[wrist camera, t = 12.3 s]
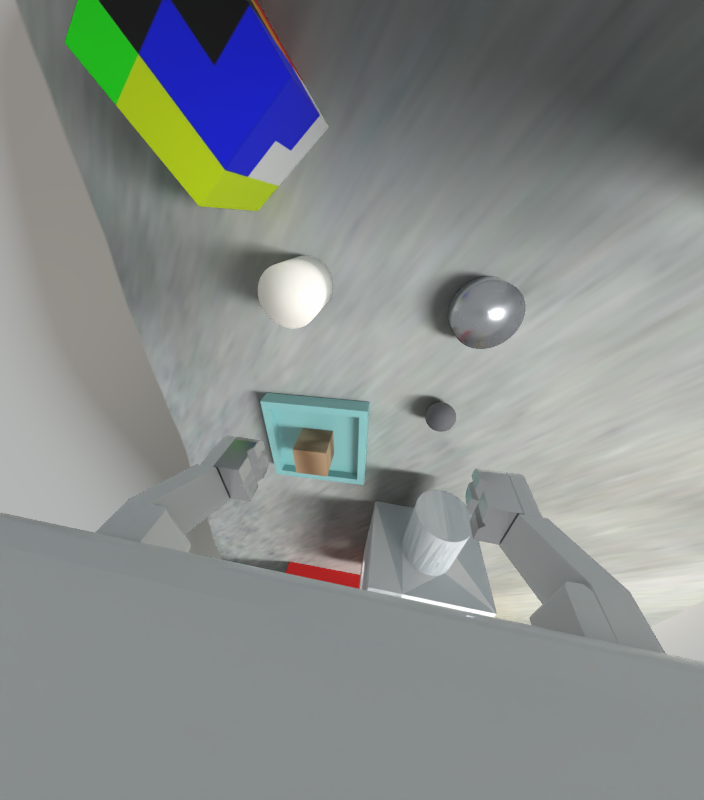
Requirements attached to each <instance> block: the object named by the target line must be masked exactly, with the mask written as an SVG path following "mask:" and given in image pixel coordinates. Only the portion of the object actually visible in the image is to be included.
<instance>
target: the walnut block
mask: <svg viewBox="0 0 704 800" xmlns="http://www.w3.org/2000/svg"><path fill="white" fill-rule="evenodd" d="M333 455H334V439H333V431H330V430H320V429H311V428H302V430H301V433H300V435H299V437H298V439H297V441H296V443H295V445H294V447H293V456H294V462H295V468H296V473H303V474H311V475H319V476H327V477H328V473H329V469H330V466H331V462H332V459H333Z"/></svg>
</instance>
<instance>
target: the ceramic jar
mask: <svg viewBox="0 0 704 800" xmlns="http://www.w3.org/2000/svg"><path fill="white" fill-rule="evenodd" d="M332 293H333V279H332V276H331V273H330V271H329V269H328V268H327V266H326V265H325V264H324V263H323V262H322V261H321V260H319V259H318V258H316V257H313V256H309V255H302V256H298V257H295V258H292V259H289V260H286V261H283V262H280V263H277V264H274V265H272V266H270V267H268V268H267V269H266V270H265V271H264V272H263V274H262V275H261V277H260V280H259V283H258V297H259V301H260V304H261V306H262V308H263V310H264V312H265V313H266V314H267V316H268V317H269V318H270V319H271V320H272V321H274V322H275V323H276V324H278V325H280V326H283V327H286V328H291V329H295V328H300V327H303V326H305V325H307V324H308V323H309V322H310V321H311V320H312V319H313V318H314V317H315V316H316V315H317V314H318V313H319V312H320V310H321V309H322V308H323V307H324V306H325V305H326V304H327V303H328V301H329V300H330V298H331V296H332Z"/></svg>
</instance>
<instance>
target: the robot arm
mask: <svg viewBox="0 0 704 800" xmlns="http://www.w3.org/2000/svg"><path fill="white" fill-rule="evenodd" d="M264 449H265V445H264V442H263V441H260V440H254V439H248V438H242V437H234V436H226V437H224V438H223V439H222V440H221V441H220V442H219V443H218V445H217V446H216V447H215V448H214V449H213V450H212V451H211V453H210V454H209V455H208V456H207V457H206V458H205V460H204V461H203V462H202V463H201V464H200V465H198V464H196V465H194V466H192V467H190V468H189V469H186V470H185V471H183V472H181V473H179V474H177V475H175V476H173V477H171V478H169V479H167V480H165V481H163V482H161V483H159V484H157V485H155V486H153V487H151V488H149V489H147V490H146V491H143V492H142V493H140V494H138V495H136V496H134V497H132V498H130V499H129V500H128V501H127V502H125V504H124V505H123V506H122V507H120V509H119V510H118V511H116V512H115V513H114V514H113V515H112V516H111V517H110V518H109V519H108V520H107V521H106V522H105V523H104V524H103V525H102V526H101V527H100V529H98V530H97V531H96V532H95V533H94V532H89V531H85V530H80V529H75V528H70V527H66V526H61V525H56V524H51V523H47V522H42V521H37V520H33V519H28V518H23V517H19V516H14V515H10V514H4V513H0V800H704V662H701V661H697V660H692V659H687V658H682V657H678V656H673V655H668V654H666V653H665V652H664V650H663V648H662V647H661V645H660V643H659V641H658V640H657V638H656V636H655V635H654V633H653V631H652V630H651V628H650V626H649V624H648V622H647V621H646V619H645V617H644V616H643V614H642V612H641V610H640V609H639V607H638V605H637V604H636V602H635V600H634V598H633V597H632V595H631V593H630V592H629V591H628V590H627V589H626V588H625V587H624V586H623V585H622V584H620V583H619V582H618V581H617V580H616V579H615V578H614V577H613V576H611V575H610V574H609V573H608V572H607V571H606V570H605V569H604V568H603V567H601V566H600V565H599V564H598V563H597V562H596V561H595V560H594V559H592V558H591V557H590V556H589V555H588V554H587V553H586V552H585V551H584V550H582V549H581V548H580V547H579V546H578V545H577V544H576V543H575V542H573V541H572V540H571V539H570V538H569V537H568V536H567V535H566V534H565V533H563V532H562V531H561V530H560V529H559V528H558V527H557V526H556V525H554V524H553V523H552V522H551V521H550V520H549V519H548V518H543V517H542V515H541V513H540V511H539V508H538V506H537V504H536V502H535V499H534V497H533V495H532V493H531V490H530V488H529V486H528V484H527V481H526V479H525V477H524V476H523V475H521V474H513V473H505V472H497V471H489V470H481V469H475V470H474V472H473V474H472V479H473V482H471V483H469V484H468V487H467V491H466V504H467V510H468V511H469V512H470V513H471V514H472V517H471V519H470V526H471V531H472V536H473V540H478V541H483V542H488V543H493V544H498V545H500V548H501V549H502V550H503V552H504V553H505V554H506V556H507V557H508V558H509V560H510V561H511V562H512V564H513V565H514V566H515V568H516V569H517V570H518V572H519V573H520V574H521V576H522V577H523V579H524V580H525V581H526V583H527V584H528V585H529V587H530V588H531V589H532V591H533V592H534V593H535V595H536V596H537V597H538V599H539V600H540V601H541V603H542V604H543V605H542V606H541V607H540V608H538V609H537V610H536V611H535V612H534V613H533V614H532V615H531V617H530V621H531V625H527V624H523V623H518V622H513V621H508V620H504V619H499V618H494V617H490V616H485V615H480V614H475V613H471V612H466V611H461V610H457V609H452V608H447V607H443V606H438V605H433V604H428V603H424V602H419V601H414V600H410V599H405V598H400V597H396V596H391V595H386V594H381V593H377V592H372V591H367V590H363V589H358V588H353V587H349V586H344V585H339V584H334V583H330V582H325V581H320V580H316V579H311V578H306V577H302V576H297V575H292V574H287V573H283V572H278V571H273V570H269V569H264V568H259V567H254V566H250V565H245V564H240V563H236V562H231V561H226V560H221V559H217V558H212V557H207V556H203V555H198V554H193V553H188V551H189V550H190V548H191V544H190V542H189V541H188V539H187V538H186V536H185V534H186V533H187V532H189V531H190V530H191V529H193V528H194V527H195V526H196V525H198V524H199V523H200V522H202V521H203V520H204V519H205V518H207V517H208V516H209V515H211V514H212V513H213V512H215V511H216V510H217V509H218V508H220V507H221V506H222V505H224V504H225V503H226V502H227V501H229V500H230V498H231V499H238V500H245V501H250V500H251V499H252V497H253V495H254V493H255V492H256V490H257V488H258V484H257V482H258V481H259V480H261V479H262V478H264V476H265V474H266V472H267V468H268V456H267V454H266V453H265V452H263V450H264Z"/></svg>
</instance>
